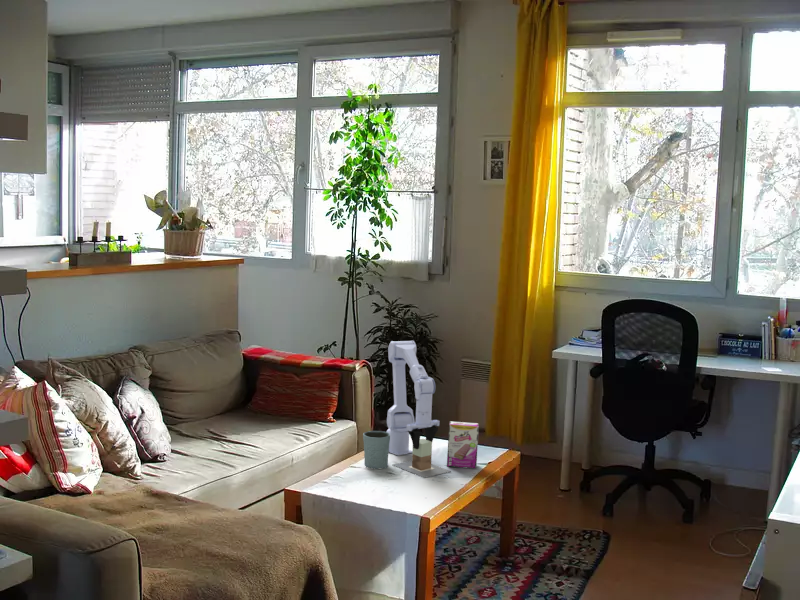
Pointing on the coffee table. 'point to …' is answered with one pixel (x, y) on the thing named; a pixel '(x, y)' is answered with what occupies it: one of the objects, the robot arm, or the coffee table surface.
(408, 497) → the coffee table surface
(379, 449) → the green plant pot
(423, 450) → the sage block
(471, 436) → the candy bar box
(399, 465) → the board
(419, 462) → the walnut block
